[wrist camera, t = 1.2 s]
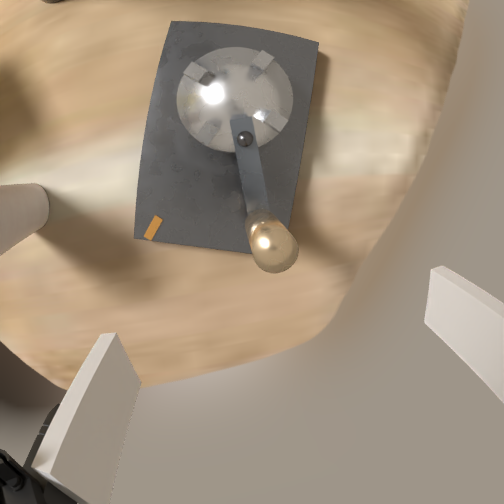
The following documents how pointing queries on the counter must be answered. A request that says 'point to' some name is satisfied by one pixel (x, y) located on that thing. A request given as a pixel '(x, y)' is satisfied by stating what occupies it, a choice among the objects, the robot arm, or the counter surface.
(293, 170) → the plate
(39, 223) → the coffee cup
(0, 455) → the robot arm
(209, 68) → the lever with amber grip
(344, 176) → the counter surface
